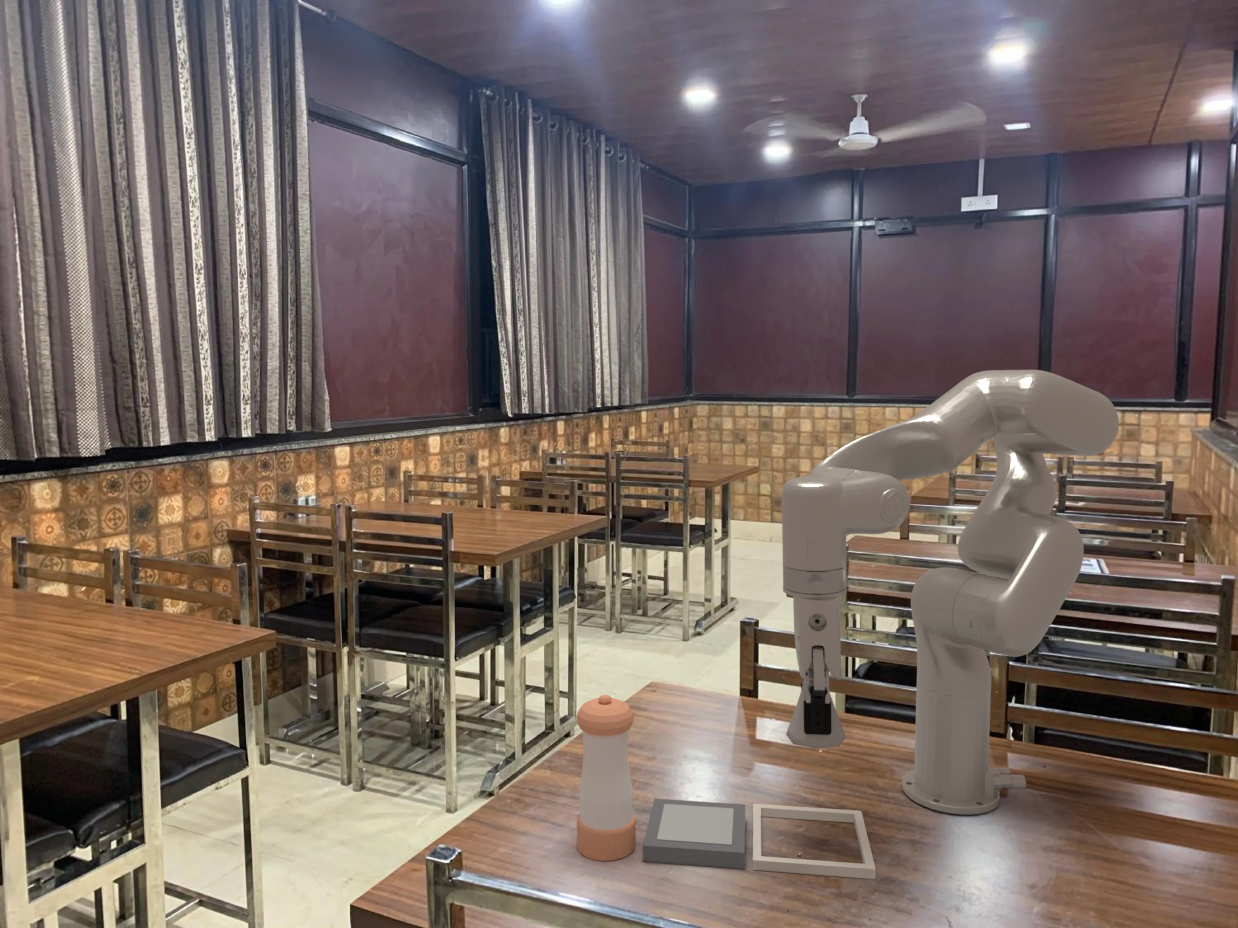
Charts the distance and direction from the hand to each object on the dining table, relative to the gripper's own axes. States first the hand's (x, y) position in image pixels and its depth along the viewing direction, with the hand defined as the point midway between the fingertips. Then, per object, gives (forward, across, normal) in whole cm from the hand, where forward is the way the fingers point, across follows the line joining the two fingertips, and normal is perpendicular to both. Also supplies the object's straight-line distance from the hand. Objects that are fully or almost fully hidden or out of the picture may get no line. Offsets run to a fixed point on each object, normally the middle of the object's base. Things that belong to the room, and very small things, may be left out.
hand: (816, 722), depth 108 cm
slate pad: (+15, -2, +15) cm, 21 cm away
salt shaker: (+15, -5, +26) cm, 30 cm away
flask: (+2, 0, 0) cm, 2 cm away
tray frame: (+15, -1, +1) cm, 15 cm away
